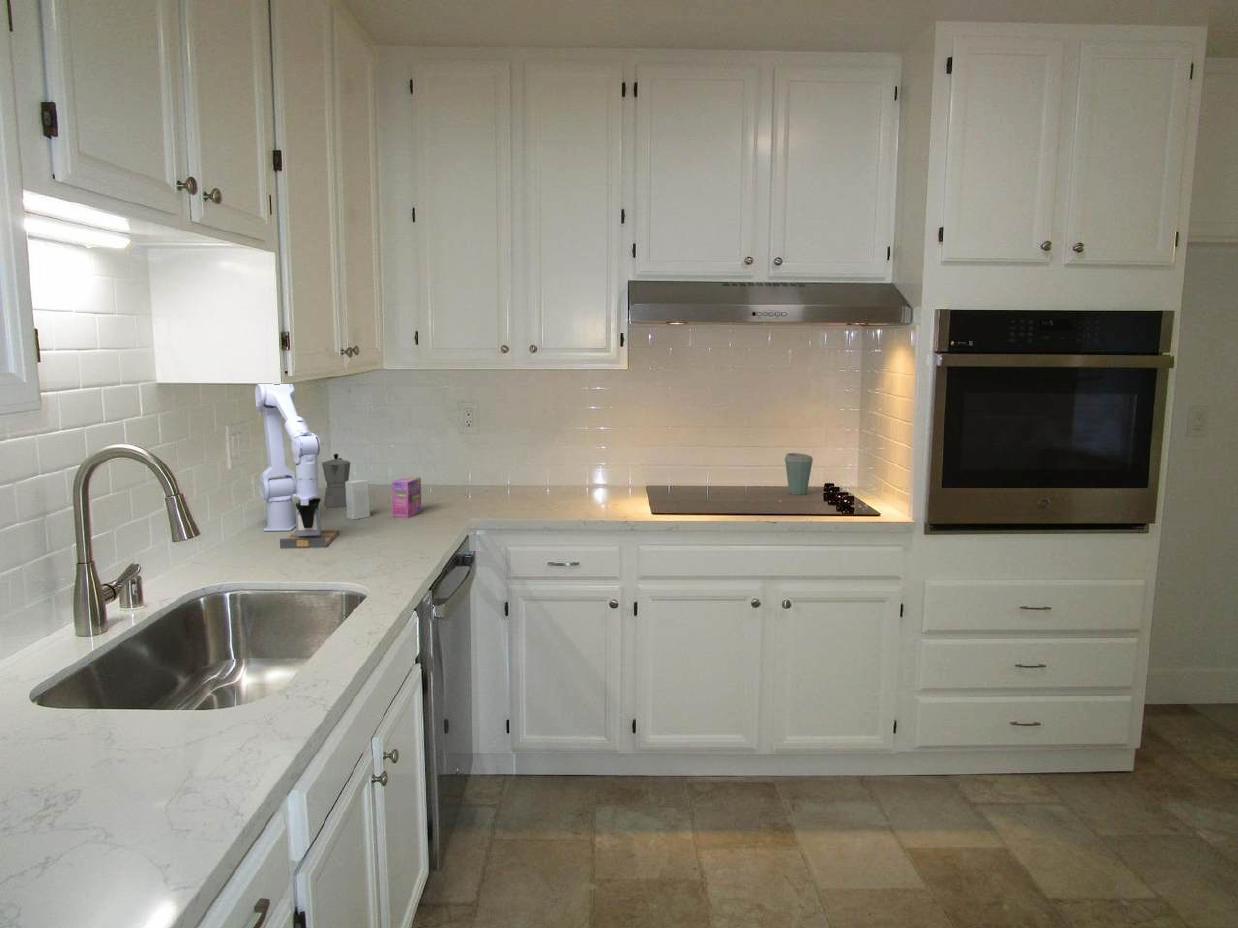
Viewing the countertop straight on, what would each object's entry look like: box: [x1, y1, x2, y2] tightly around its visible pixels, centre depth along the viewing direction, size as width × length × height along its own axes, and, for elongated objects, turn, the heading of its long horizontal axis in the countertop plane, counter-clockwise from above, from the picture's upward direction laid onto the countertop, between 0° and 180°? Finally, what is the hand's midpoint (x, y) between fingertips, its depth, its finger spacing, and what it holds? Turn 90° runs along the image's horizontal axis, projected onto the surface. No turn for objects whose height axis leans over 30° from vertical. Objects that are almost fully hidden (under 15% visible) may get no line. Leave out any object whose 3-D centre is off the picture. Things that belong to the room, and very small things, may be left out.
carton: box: [295, 507, 322, 536], centre depth 242 cm, size 4×6×7 cm
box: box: [391, 476, 422, 519], centre depth 281 cm, size 10×6×12 cm, turn 168°
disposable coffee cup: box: [784, 452, 814, 495], centre depth 324 cm, size 11×11×15 cm
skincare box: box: [345, 479, 371, 520], centre depth 275 cm, size 6×4×12 cm
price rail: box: [279, 538, 327, 549], centre depth 235 cm, size 1×12×2 cm, turn 96°
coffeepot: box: [321, 453, 351, 509], centre depth 296 cm, size 15×9×18 cm, turn 8°
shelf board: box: [286, 529, 340, 547], centre depth 244 cm, size 16×12×1 cm
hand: (309, 526), depth 242 cm, fingers closed on carton, 4 cm apart
